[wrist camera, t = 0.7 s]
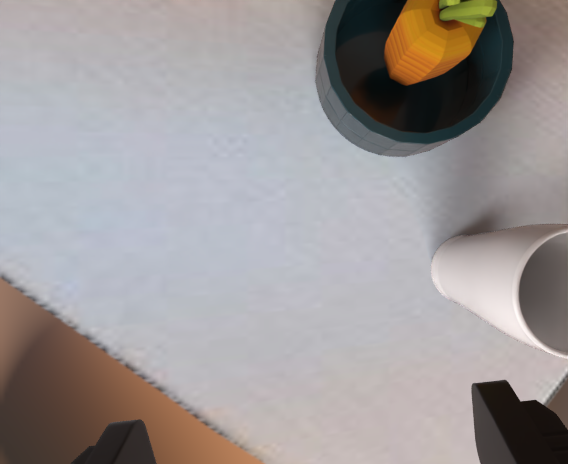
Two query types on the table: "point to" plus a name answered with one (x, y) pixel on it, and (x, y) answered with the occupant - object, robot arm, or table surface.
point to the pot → (399, 98)
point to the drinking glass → (511, 281)
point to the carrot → (434, 37)
